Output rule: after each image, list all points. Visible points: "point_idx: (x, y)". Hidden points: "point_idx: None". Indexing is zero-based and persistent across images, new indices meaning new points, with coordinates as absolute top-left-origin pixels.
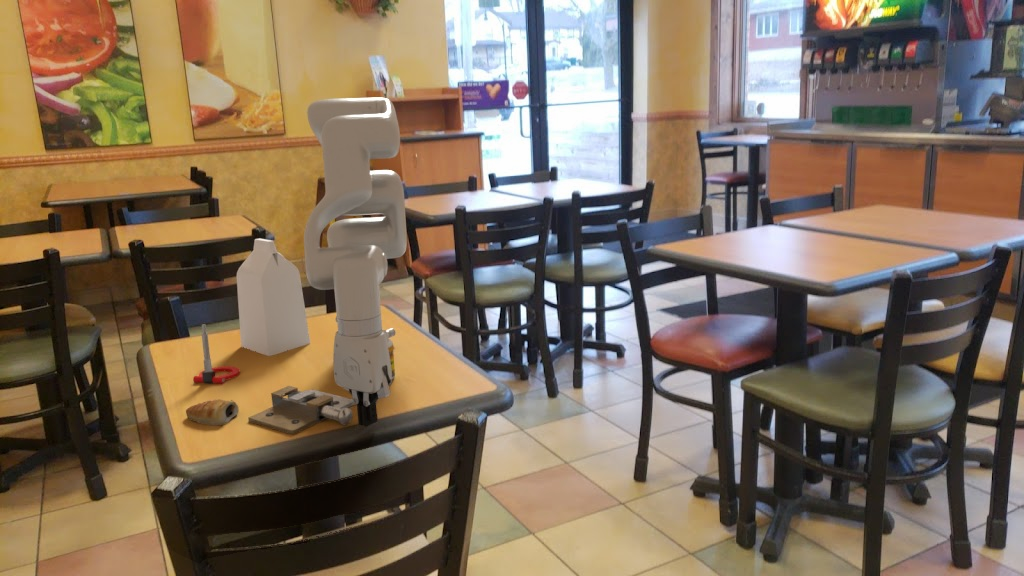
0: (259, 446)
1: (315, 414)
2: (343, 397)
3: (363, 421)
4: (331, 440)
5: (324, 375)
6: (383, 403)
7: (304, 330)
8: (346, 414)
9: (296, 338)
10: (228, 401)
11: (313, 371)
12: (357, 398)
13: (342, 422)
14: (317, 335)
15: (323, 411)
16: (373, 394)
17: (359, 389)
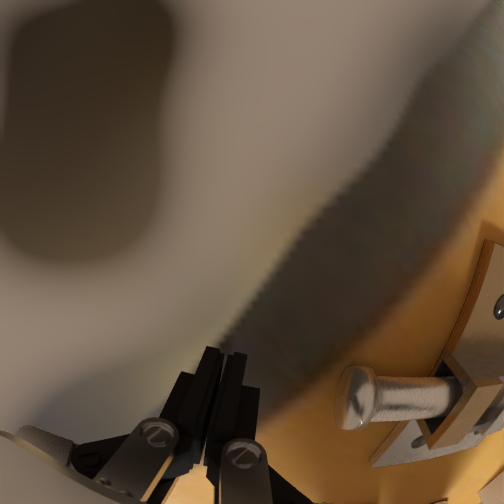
0: None
1: (462, 363)
2: (407, 462)
3: (209, 361)
4: (333, 240)
5: (458, 476)
6: (297, 476)
7: (487, 501)
8: (347, 404)
9: (494, 488)
10: None
11: (474, 471)
12: (225, 466)
13: (352, 369)
14: (469, 501)
15: (442, 387)
16: (81, 463)
17: (88, 499)
